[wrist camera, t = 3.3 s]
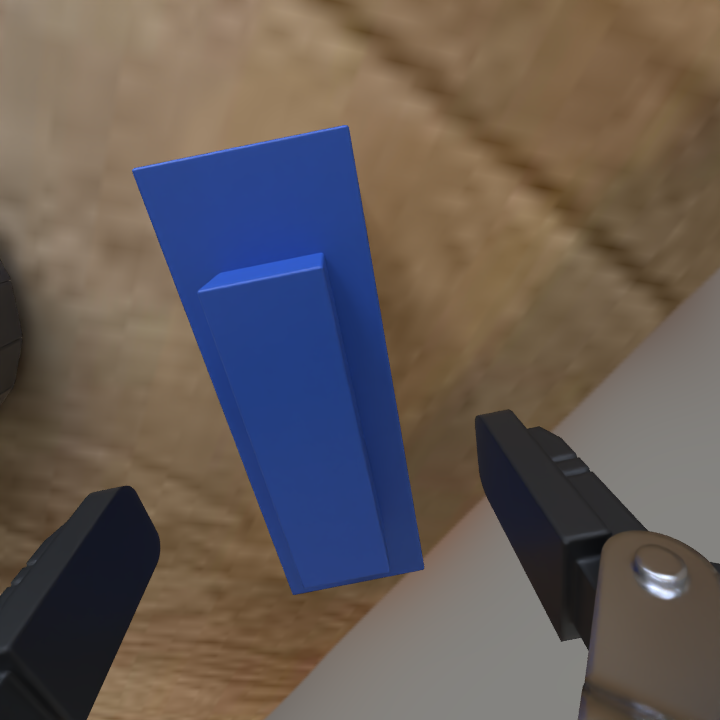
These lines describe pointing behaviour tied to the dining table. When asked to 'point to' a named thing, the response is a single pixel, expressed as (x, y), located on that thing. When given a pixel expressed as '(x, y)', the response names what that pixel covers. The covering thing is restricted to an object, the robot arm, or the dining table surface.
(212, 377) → the brush
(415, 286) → the dining table surface
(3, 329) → the bowl
